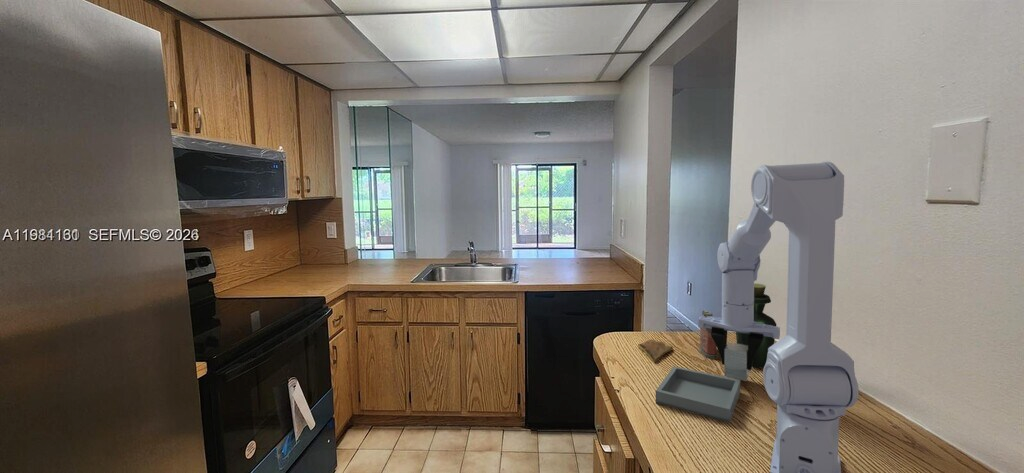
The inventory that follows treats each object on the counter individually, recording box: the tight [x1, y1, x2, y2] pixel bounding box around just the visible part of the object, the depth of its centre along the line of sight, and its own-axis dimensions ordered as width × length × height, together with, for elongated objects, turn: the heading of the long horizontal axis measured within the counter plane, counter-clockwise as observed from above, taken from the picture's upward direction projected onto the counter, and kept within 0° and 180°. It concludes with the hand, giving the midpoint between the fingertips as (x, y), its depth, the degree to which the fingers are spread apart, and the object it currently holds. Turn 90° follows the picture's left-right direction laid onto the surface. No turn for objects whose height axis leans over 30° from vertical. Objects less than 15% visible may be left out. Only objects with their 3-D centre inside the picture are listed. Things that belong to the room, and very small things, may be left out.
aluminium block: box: [723, 341, 750, 382], centre depth 84 cm, size 4×4×6 cm
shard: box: [637, 338, 674, 364], centre depth 101 cm, size 11×8×2 cm
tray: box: [655, 366, 742, 424], centre depth 78 cm, size 13×13×2 cm
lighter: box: [698, 309, 718, 360], centre depth 99 cm, size 8×3×10 cm, turn 168°
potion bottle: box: [735, 283, 777, 369], centre depth 92 cm, size 8×8×18 cm
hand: (736, 365), depth 84 cm, fingers closed on aluminium block, 4 cm apart
